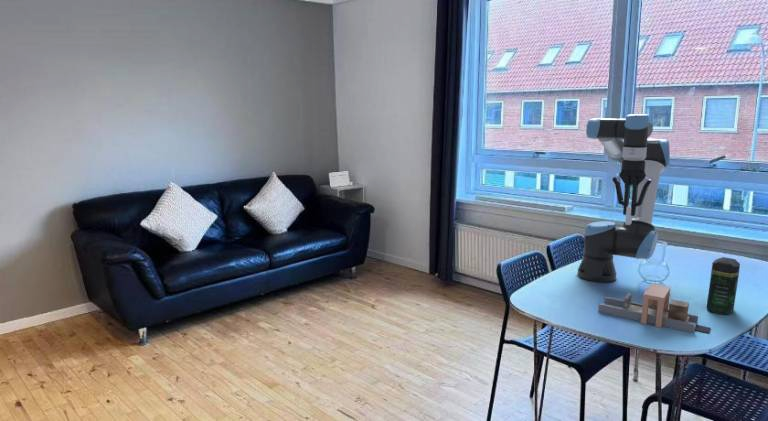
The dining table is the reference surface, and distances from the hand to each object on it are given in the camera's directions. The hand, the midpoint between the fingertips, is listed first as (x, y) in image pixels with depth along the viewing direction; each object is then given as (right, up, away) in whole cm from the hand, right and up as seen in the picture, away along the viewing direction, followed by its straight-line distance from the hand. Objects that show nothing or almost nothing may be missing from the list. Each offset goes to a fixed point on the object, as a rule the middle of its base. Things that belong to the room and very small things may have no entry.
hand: (628, 223), depth 187 cm
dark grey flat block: (+14, -33, -21) cm, 42 cm away
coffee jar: (+30, -30, -5) cm, 43 cm away
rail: (+1, -32, -11) cm, 33 cm away
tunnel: (+3, -32, -12) cm, 34 cm away
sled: (+3, -31, -13) cm, 33 cm away
